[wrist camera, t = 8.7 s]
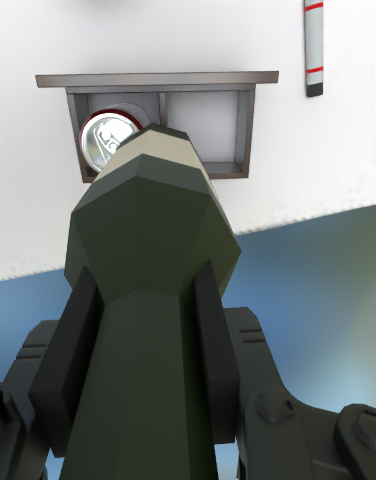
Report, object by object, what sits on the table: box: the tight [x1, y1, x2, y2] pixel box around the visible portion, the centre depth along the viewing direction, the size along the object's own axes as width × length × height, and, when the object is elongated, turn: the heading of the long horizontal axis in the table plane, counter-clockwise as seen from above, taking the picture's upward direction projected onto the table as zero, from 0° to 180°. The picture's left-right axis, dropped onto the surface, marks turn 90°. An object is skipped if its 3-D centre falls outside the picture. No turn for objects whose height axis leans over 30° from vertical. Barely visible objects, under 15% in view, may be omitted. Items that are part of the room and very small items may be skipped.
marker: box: [305, 0, 323, 97], centre depth 37 cm, size 15×2×2 cm, turn 12°
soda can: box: [80, 102, 151, 173], centre depth 37 cm, size 7×7×12 cm
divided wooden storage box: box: [35, 71, 279, 183], centre depth 36 cm, size 22×12×14 cm, turn 91°
